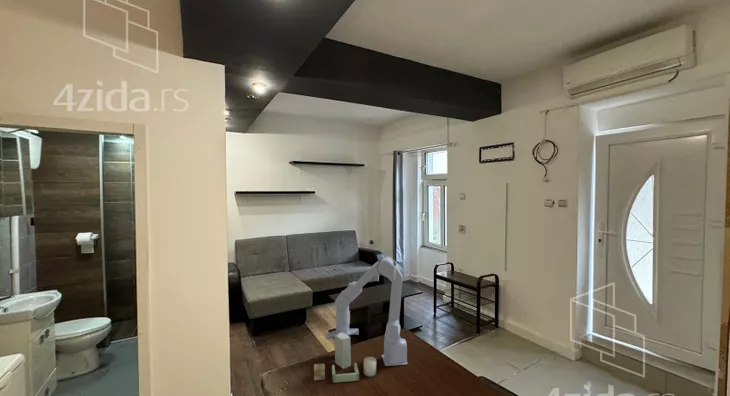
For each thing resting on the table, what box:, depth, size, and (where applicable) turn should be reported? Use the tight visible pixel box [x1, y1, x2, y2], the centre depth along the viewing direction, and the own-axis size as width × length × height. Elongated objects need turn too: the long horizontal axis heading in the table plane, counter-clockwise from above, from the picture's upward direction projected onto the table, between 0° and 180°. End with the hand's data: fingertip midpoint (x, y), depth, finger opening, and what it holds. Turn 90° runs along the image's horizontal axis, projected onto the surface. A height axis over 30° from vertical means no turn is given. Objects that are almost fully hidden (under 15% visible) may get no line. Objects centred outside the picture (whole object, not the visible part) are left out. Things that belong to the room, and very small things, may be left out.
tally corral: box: [331, 362, 360, 384], centre depth 118 cm, size 10×8×2 cm
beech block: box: [313, 363, 326, 381], centre depth 117 cm, size 4×4×4 cm
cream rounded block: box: [363, 356, 377, 377], centre depth 120 cm, size 5×5×5 cm
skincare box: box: [334, 332, 352, 370], centre depth 126 cm, size 6×4×12 cm
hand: (342, 352), depth 133 cm, fingers closed
